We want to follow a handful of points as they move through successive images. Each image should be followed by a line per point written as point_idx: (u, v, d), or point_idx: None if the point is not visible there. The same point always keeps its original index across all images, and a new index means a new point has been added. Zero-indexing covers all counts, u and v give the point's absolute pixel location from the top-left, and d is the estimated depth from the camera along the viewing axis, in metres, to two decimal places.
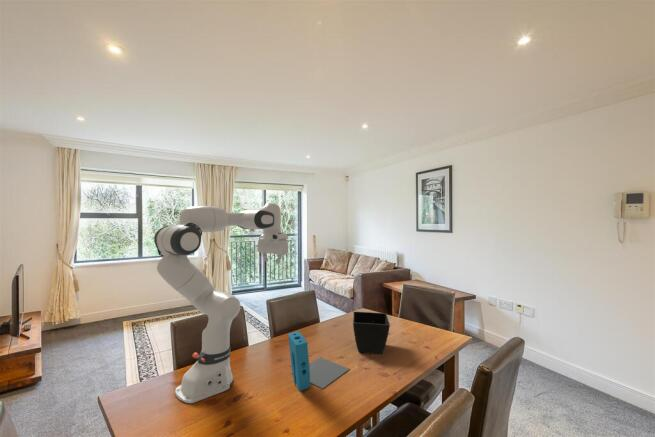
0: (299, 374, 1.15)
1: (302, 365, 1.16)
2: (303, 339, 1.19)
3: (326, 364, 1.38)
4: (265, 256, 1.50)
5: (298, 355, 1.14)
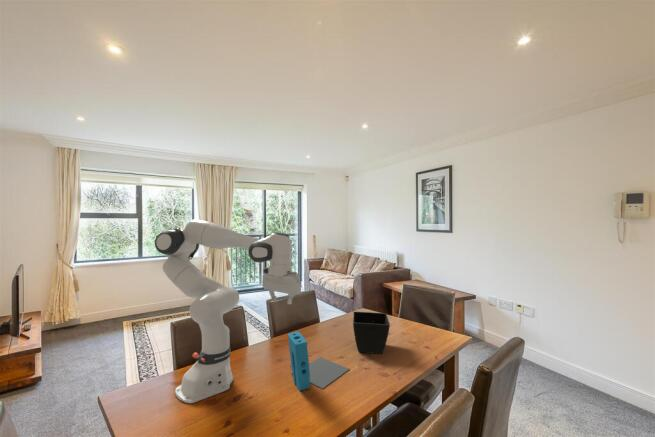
0: (299, 374, 1.15)
1: (302, 365, 1.16)
2: (303, 339, 1.19)
3: (326, 364, 1.38)
4: None
5: (298, 354, 1.15)
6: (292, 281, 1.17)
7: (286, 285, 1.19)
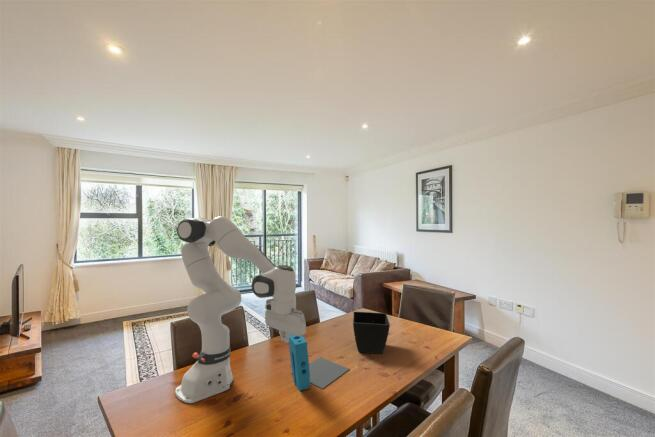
0: (299, 374, 1.15)
1: (302, 365, 1.16)
2: (303, 339, 1.19)
3: (326, 364, 1.38)
4: None
5: (298, 354, 1.15)
6: (297, 322, 1.07)
7: (290, 325, 1.09)
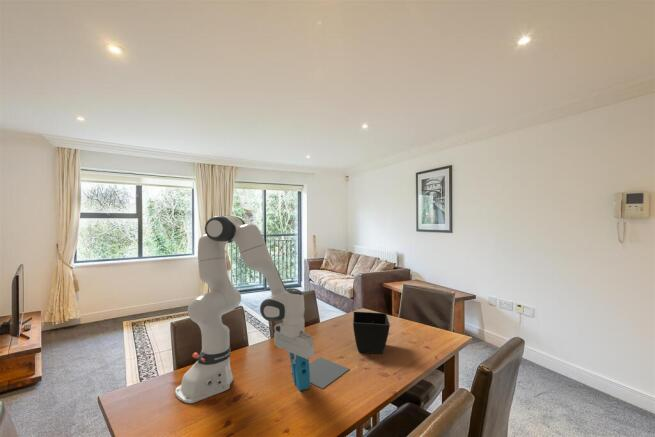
0: (299, 374, 1.15)
1: (302, 365, 1.16)
2: None
3: (326, 364, 1.38)
4: None
5: None
6: (305, 345, 1.11)
7: (299, 347, 1.13)
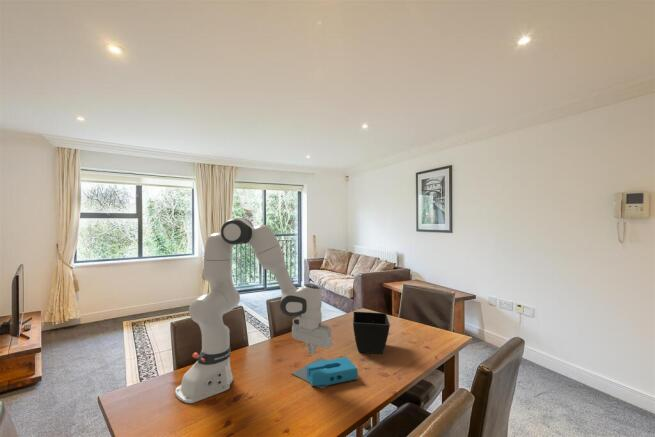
0: (331, 374, 1.20)
1: (336, 376, 1.22)
2: None
3: None
4: None
5: (348, 371, 1.23)
6: (325, 336, 1.20)
7: (318, 338, 1.22)
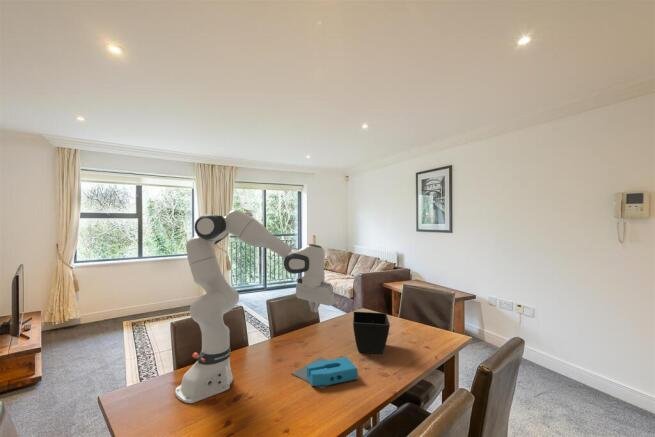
0: (331, 374, 1.20)
1: (336, 376, 1.22)
2: None
3: None
4: None
5: (348, 371, 1.23)
6: (327, 293, 1.21)
7: (320, 296, 1.23)
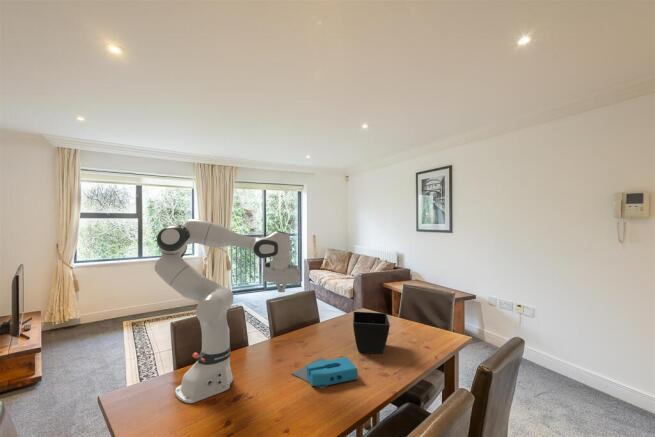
0: (331, 374, 1.20)
1: (336, 376, 1.22)
2: None
3: None
4: None
5: (348, 371, 1.23)
6: (294, 273, 1.36)
7: (288, 277, 1.38)
